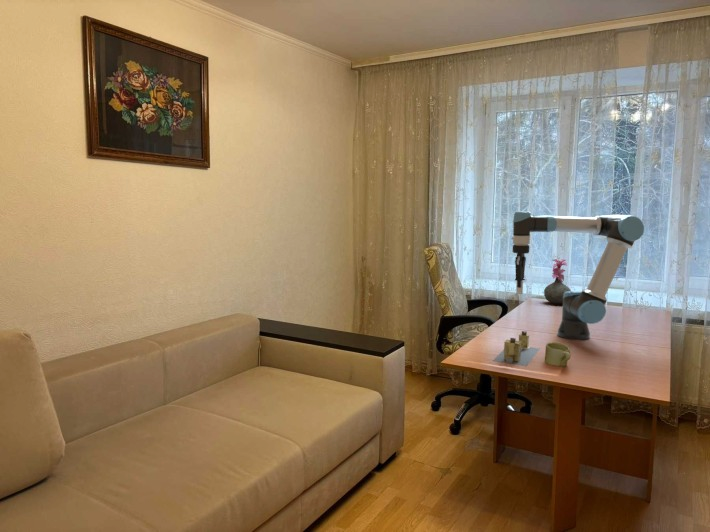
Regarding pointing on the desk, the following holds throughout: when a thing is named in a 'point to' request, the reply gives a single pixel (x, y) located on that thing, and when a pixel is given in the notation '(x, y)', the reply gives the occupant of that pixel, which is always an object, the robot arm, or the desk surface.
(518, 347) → the trammel head
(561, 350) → the mug
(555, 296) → the vase
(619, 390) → the desk surface
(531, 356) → the board
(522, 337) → the rail
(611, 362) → the desk surface
